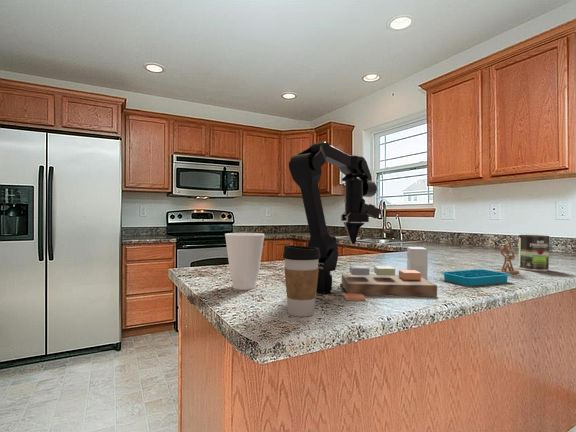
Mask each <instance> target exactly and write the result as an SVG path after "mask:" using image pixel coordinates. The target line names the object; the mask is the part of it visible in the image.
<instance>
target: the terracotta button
mask: <svg viewBox="0 0 576 432" xmlns="http://www.w3.org/2000/svg"><path fill="white" fill-rule="evenodd" d="M398 275H399V277H400V278H402V279H404V280H421V273H420V272H418V271H416V270H407V269H398Z"/></svg>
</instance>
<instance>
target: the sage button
mask: <svg viewBox="0 0 576 432" xmlns="http://www.w3.org/2000/svg"><path fill="white" fill-rule="evenodd" d="M373 266H374V268H373V269H374V270H373V272H374V274H375V275H386V276H395V275H396V268H395V267H393V266H391V265H373Z"/></svg>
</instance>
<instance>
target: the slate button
mask: <svg viewBox="0 0 576 432" xmlns="http://www.w3.org/2000/svg"><path fill="white" fill-rule="evenodd" d="M349 274H352V275H369V274H370V267H368V266H367V265H349Z"/></svg>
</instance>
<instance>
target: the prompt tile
mask: <svg viewBox="0 0 576 432" xmlns="http://www.w3.org/2000/svg"><path fill="white" fill-rule="evenodd" d="M343 297H344V300H345V301H357V302H358V301H359V302H361V301H362V302H365V301H366V297H365V295H362V294H348V293H347V292H346V293H345V292H344V293H343Z"/></svg>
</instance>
